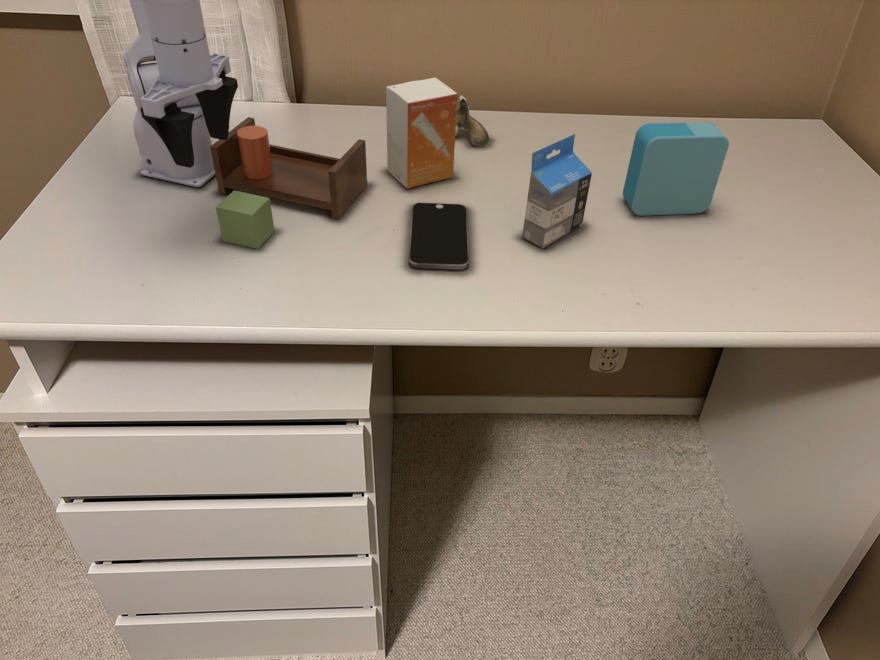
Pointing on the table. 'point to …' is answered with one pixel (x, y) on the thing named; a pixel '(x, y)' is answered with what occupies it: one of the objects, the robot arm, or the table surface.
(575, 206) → the ink cartridge box
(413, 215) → the smartphone
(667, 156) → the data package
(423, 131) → the small box
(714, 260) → the table surface
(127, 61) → the robot arm
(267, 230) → the green block
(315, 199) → the shelf
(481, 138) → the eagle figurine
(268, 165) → the terracotta cylinder
